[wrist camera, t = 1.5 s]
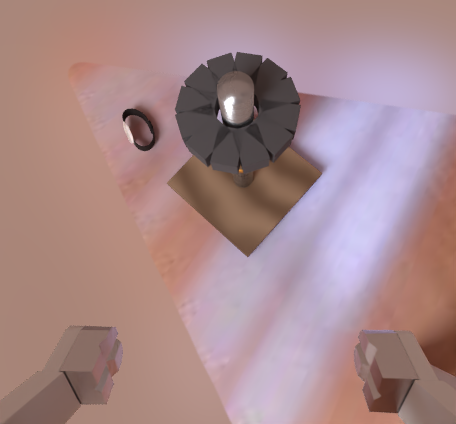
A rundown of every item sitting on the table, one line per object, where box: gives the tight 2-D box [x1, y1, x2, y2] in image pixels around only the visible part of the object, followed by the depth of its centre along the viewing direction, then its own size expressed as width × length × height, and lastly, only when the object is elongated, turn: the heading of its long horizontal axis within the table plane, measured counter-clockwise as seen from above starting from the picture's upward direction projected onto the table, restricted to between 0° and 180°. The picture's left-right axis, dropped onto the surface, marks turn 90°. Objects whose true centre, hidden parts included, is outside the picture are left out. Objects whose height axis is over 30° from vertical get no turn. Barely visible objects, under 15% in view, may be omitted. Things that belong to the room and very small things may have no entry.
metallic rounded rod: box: [217, 71, 254, 188], centre depth 37 cm, size 3×3×24 cm
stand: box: [167, 119, 322, 257], centre depth 50 cm, size 17×17×2 cm
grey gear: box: [175, 52, 301, 174], centre depth 29 cm, size 11×11×2 cm
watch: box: [122, 109, 155, 151], centre depth 52 cm, size 8×5×4 cm, turn 29°
